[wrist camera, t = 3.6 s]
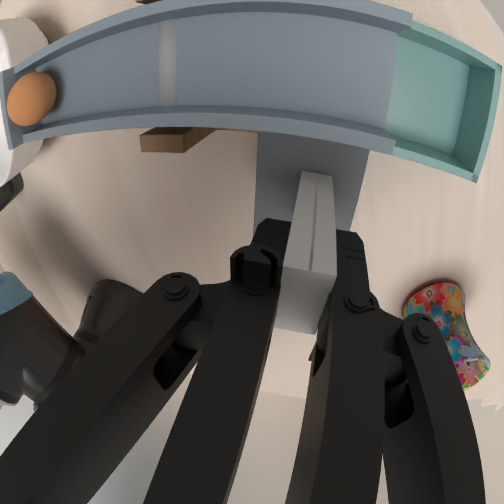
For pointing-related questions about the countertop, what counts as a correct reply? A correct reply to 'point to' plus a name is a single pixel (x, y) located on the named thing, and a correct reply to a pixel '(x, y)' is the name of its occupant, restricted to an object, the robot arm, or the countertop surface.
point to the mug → (451, 328)
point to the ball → (31, 98)
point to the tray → (442, 102)
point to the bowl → (3, 57)
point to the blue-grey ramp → (234, 84)
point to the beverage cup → (10, 190)
